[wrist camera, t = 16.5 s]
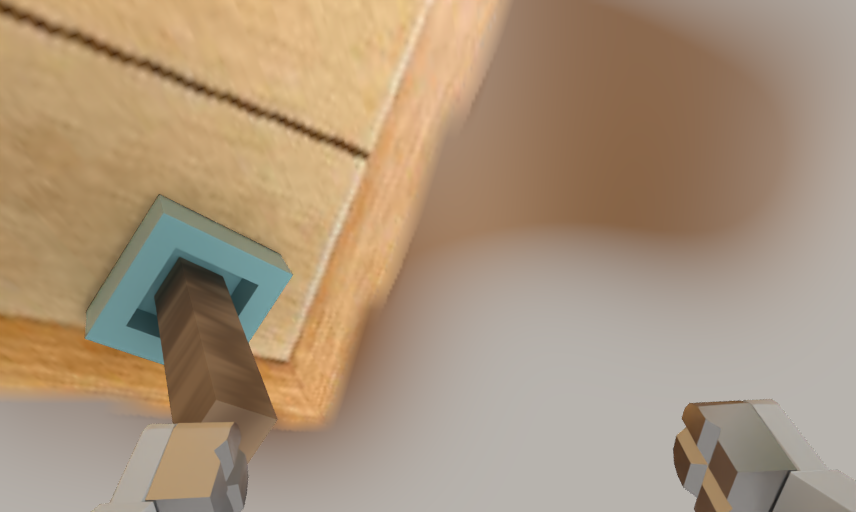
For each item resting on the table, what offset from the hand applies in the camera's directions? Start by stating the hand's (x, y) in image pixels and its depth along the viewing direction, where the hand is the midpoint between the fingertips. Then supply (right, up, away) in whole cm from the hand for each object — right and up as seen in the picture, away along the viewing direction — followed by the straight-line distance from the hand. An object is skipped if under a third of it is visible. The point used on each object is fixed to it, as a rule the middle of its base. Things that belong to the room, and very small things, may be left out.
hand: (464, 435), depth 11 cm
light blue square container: (-19, +1, +35) cm, 39 cm away
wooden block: (-18, +1, +34) cm, 39 cm away
